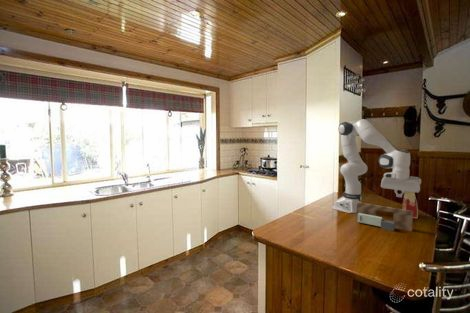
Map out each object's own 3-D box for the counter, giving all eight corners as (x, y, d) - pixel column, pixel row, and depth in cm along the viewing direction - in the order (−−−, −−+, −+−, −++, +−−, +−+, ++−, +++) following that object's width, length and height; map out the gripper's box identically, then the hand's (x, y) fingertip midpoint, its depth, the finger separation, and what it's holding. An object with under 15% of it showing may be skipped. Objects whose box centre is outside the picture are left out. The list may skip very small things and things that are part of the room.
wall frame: (356, 219, 170) (356, 202, 169) (357, 219, 171) (357, 202, 170) (411, 231, 149) (412, 211, 148) (412, 230, 151) (413, 211, 149)
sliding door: (357, 222, 163) (357, 214, 162) (358, 220, 166) (358, 212, 165) (380, 226, 154) (381, 218, 153) (381, 225, 157) (382, 217, 156)
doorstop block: (380, 228, 154) (381, 221, 153) (382, 226, 157) (382, 219, 157) (393, 231, 149) (393, 223, 149) (394, 229, 153) (395, 221, 152)
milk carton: (414, 214, 179) (416, 188, 177) (418, 218, 171) (419, 191, 169) (400, 213, 183) (401, 187, 181) (402, 216, 175) (404, 190, 173)
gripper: (421, 176, 144) (420, 198, 145) (382, 172, 157) (381, 193, 158) (421, 178, 139) (419, 201, 140) (380, 174, 152) (379, 195, 154)
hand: (399, 196), depth 150 cm, fingers closed
